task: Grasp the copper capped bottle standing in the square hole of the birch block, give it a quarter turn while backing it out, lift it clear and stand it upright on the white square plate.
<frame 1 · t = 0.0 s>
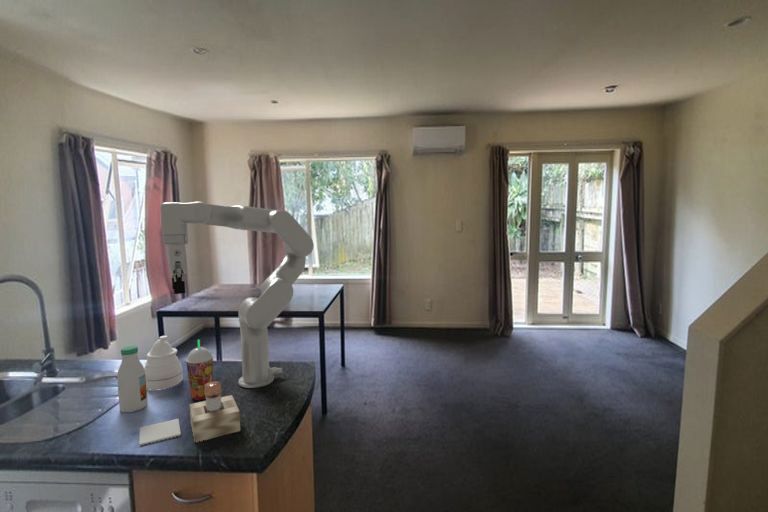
hand: (178, 291, 135), 37 cm above the worktop, tool pointing down, fingers open, 9 cm apart
white square plate: (160, 432, 116), on the worktop
smoothie: (201, 397, 139), on the worktop
birch eye block: (215, 427, 119), on the worktop
copper capped bottle: (213, 405, 118), in the birch eye block
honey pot: (163, 383, 150), on the worktop
milk bottle: (133, 408, 131), on the worktop
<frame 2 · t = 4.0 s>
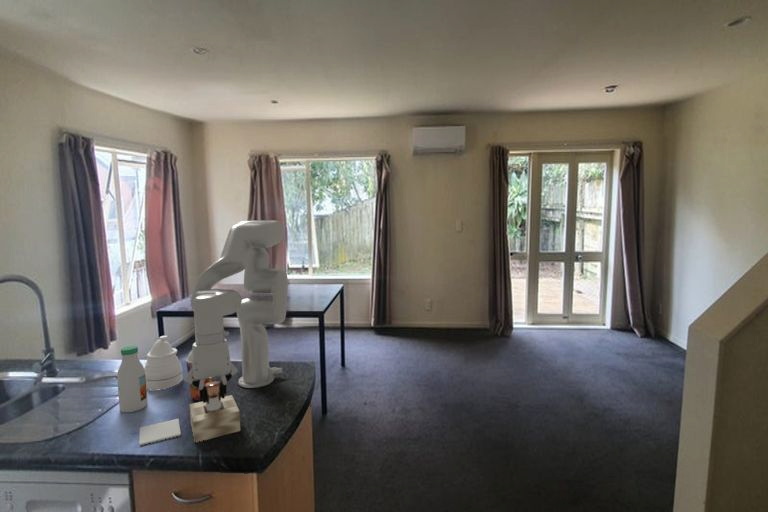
hand: (213, 398, 118), 9 cm above the worktop, tool pointing down, fingers closed on copper capped bottle, 4 cm apart
copper capped bottle: (213, 406, 118), in the birch eye block, touching gripper
everything else where it was.
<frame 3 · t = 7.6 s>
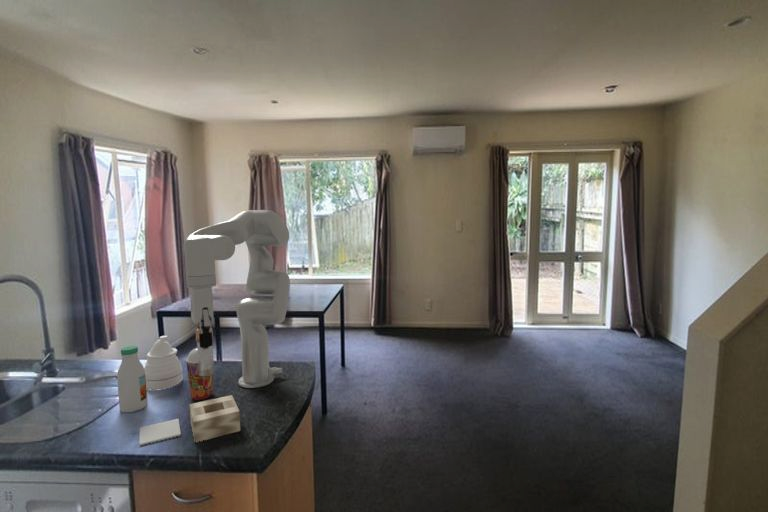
hand: (204, 343, 116), 25 cm above the worktop, tool pointing down, fingers closed on copper capped bottle, 4 cm apart
copper capped bottle: (205, 351, 116), point 23 cm above the worktop, touching gripper
everything else where it was.
when the fingers open (11 cm above the worktop, at t = 11.6 s): copper capped bottle drops 1 cm, resting on white square plate.
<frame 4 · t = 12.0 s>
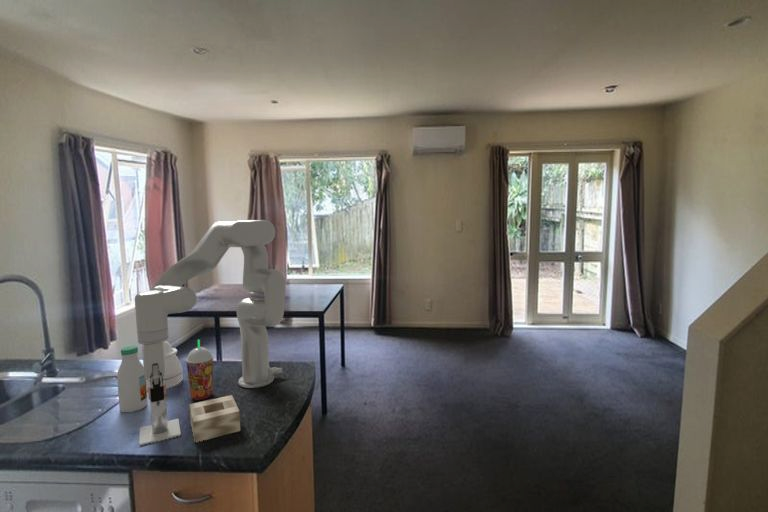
hand: (157, 394, 115), 12 cm above the worktop, tool pointing down, fingers open, 9 cm apart
copper capped bottle: (158, 408, 115), on the white square plate, point 7 cm above the worktop
everything else where it was.
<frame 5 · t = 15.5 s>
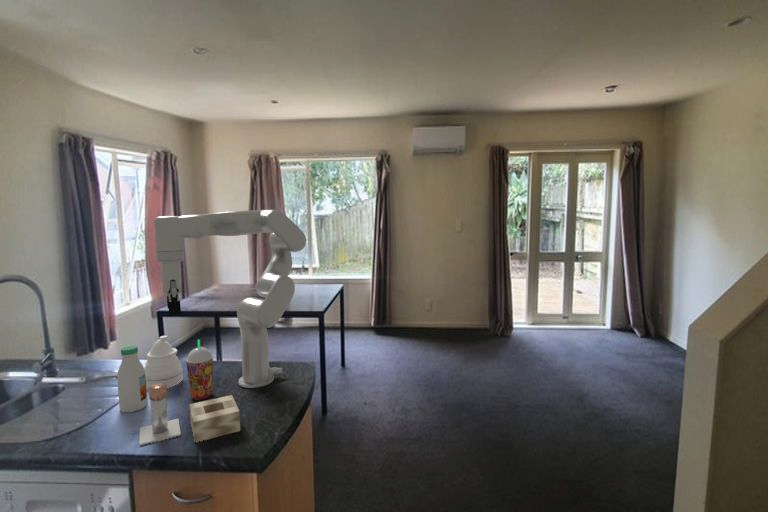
hand: (174, 311, 126), 32 cm above the worktop, tool pointing down, fingers open, 9 cm apart
nothing on the worktop moved.
at the end: copper capped bottle 0.1 cm off-centre on the white square plate, point 7.1 cm above the white square plate's base; copper capped bottle tilted 1°; the gripper is holding nothing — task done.
